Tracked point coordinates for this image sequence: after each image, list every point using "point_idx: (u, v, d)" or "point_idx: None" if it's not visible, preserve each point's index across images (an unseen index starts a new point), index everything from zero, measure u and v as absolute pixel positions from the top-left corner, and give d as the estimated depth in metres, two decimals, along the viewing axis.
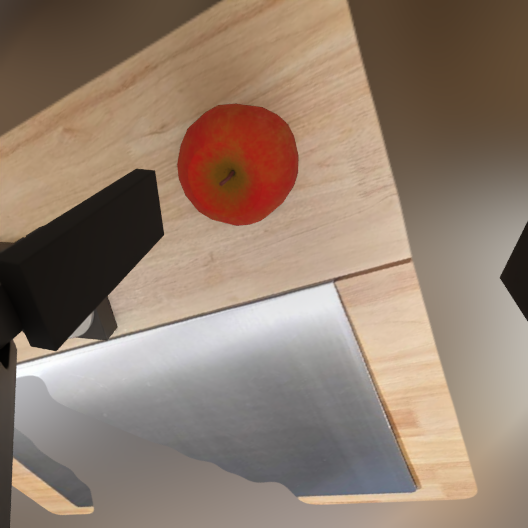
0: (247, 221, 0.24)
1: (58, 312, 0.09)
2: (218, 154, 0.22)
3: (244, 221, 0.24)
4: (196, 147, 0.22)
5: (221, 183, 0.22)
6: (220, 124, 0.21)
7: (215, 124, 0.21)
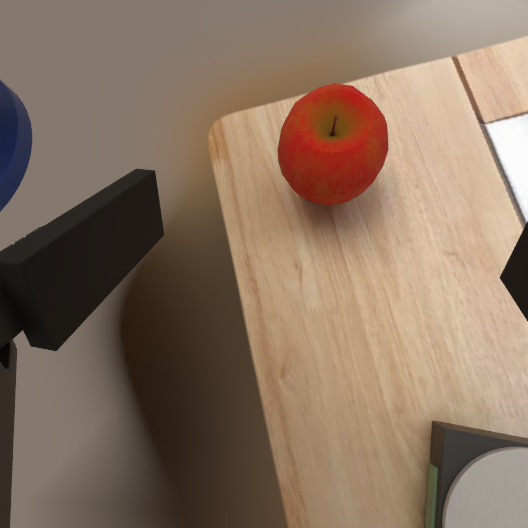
0: (380, 114, 0.24)
1: (58, 312, 0.09)
2: (310, 125, 0.24)
3: (379, 115, 0.24)
4: (301, 143, 0.24)
5: (335, 116, 0.23)
6: (287, 127, 0.25)
7: (286, 131, 0.25)
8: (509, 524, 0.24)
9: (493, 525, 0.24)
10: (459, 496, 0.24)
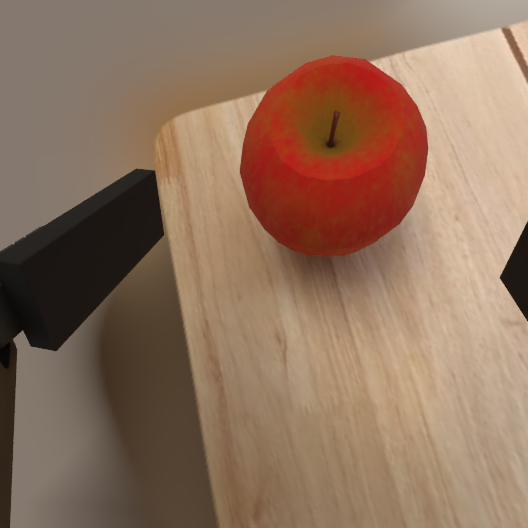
0: (416, 108, 0.13)
1: (58, 312, 0.09)
2: (291, 130, 0.13)
3: (416, 111, 0.13)
4: (274, 162, 0.13)
5: (335, 113, 0.12)
6: (251, 132, 0.14)
7: (250, 141, 0.14)
8: None
9: None
10: None
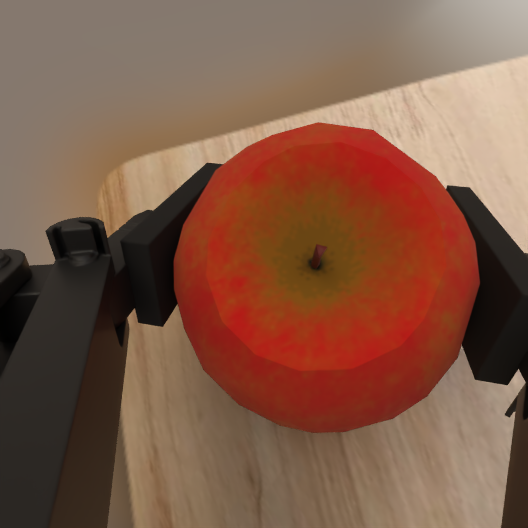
0: (464, 222, 0.08)
1: (165, 291, 0.10)
2: (243, 259, 0.08)
3: (463, 229, 0.07)
4: (212, 319, 0.07)
5: (317, 246, 0.07)
6: (181, 250, 0.08)
7: (180, 264, 0.08)
8: None
9: None
10: None
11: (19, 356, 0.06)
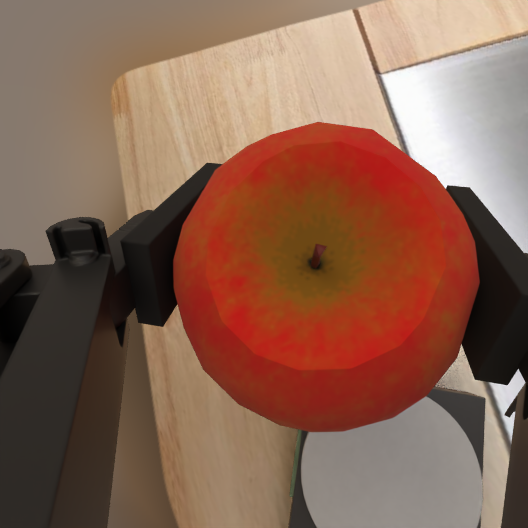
0: (463, 222, 0.08)
1: (166, 291, 0.10)
2: (243, 258, 0.08)
3: (463, 229, 0.07)
4: (212, 319, 0.07)
5: (317, 246, 0.07)
6: (181, 250, 0.08)
7: (180, 263, 0.08)
8: (364, 458, 0.23)
9: (348, 460, 0.23)
10: (317, 432, 0.24)
11: (19, 356, 0.06)
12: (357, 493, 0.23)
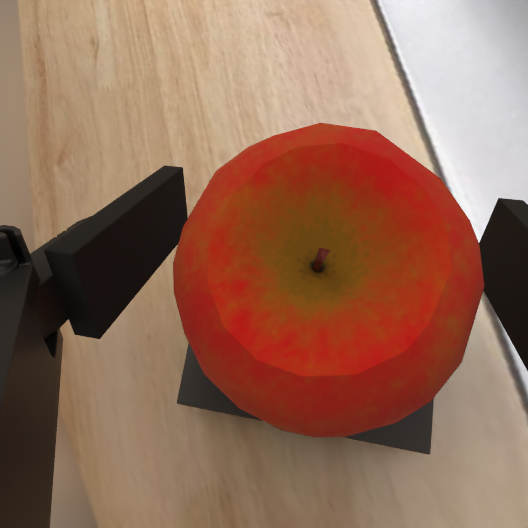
0: (468, 225, 0.07)
1: (102, 301, 0.09)
2: (245, 262, 0.08)
3: (468, 232, 0.07)
4: (212, 323, 0.07)
5: (320, 250, 0.07)
6: (181, 253, 0.08)
7: (180, 267, 0.08)
8: None
9: None
10: None
11: None
12: None
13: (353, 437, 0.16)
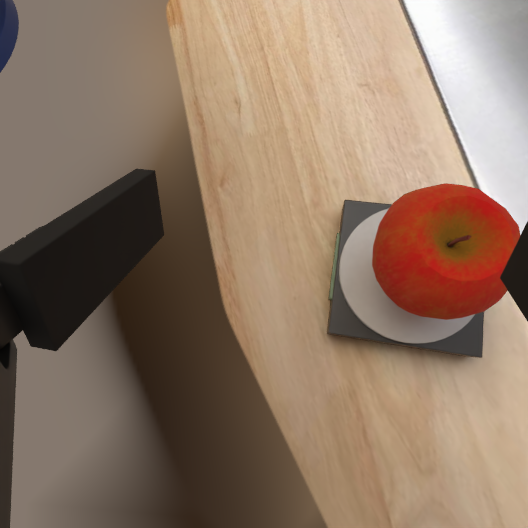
0: (517, 227, 0.19)
1: (58, 312, 0.09)
2: (430, 241, 0.19)
3: (518, 230, 0.19)
4: (420, 264, 0.19)
5: (467, 236, 0.18)
6: (396, 238, 0.20)
7: (396, 244, 0.20)
8: None
9: None
10: (352, 243, 0.30)
11: None
12: None
13: (437, 349, 0.28)
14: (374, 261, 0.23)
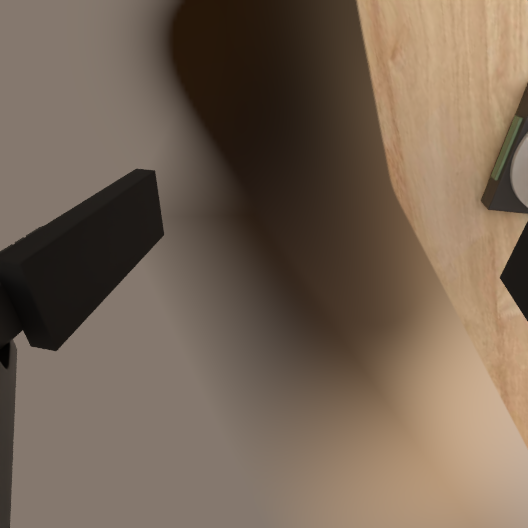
0: None
1: (58, 312, 0.09)
2: None
3: None
4: None
5: None
6: None
7: None
8: None
9: None
10: None
11: None
12: None
13: None
14: None
